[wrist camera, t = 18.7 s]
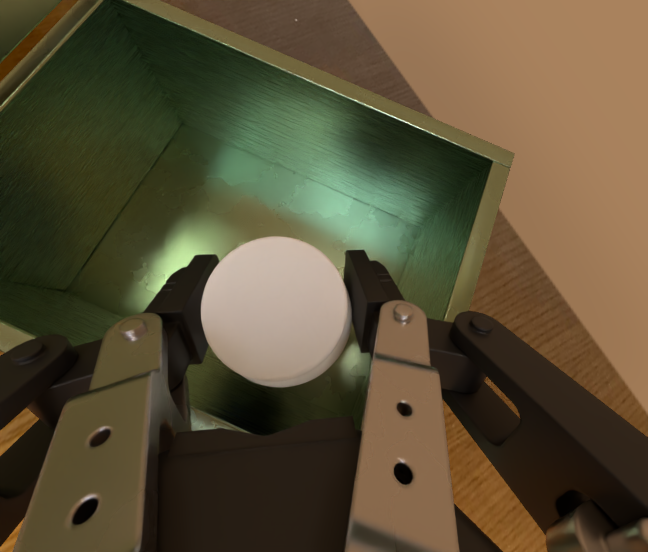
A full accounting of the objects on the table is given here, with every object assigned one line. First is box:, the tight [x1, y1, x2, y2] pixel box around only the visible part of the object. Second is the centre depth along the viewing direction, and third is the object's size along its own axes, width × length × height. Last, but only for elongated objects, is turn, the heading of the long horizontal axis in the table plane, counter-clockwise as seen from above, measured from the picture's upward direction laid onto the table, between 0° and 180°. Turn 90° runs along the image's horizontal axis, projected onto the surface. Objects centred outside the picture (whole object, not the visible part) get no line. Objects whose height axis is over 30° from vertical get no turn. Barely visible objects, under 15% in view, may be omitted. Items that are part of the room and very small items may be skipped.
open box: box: [0, 0, 514, 436], centre depth 13 cm, size 20×15×8 cm
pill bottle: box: [201, 236, 352, 387], centre depth 11 cm, size 5×5×9 cm
